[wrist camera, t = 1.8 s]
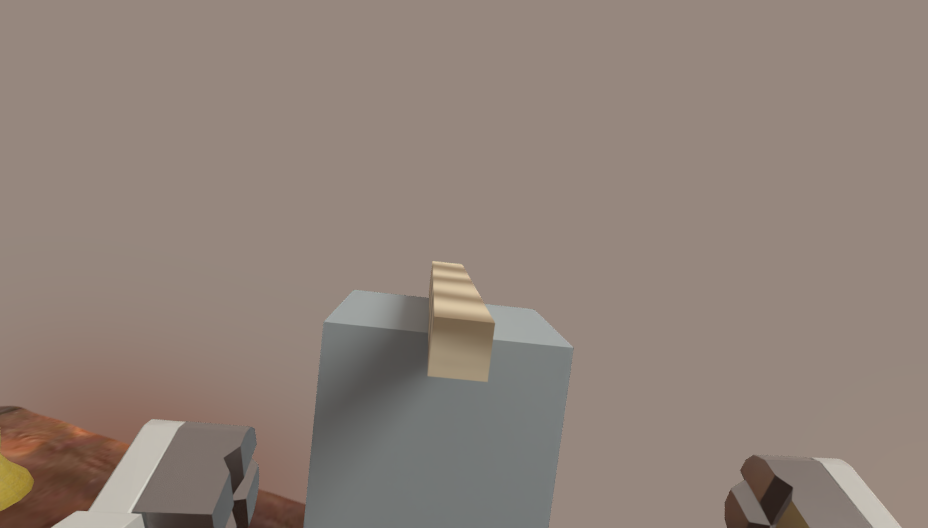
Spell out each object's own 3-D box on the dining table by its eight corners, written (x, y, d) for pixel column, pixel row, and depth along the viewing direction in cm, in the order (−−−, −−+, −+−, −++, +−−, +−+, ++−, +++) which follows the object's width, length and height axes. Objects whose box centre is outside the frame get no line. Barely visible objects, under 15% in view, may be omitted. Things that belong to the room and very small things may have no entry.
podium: (515, 764, 34) (573, 347, 31) (281, 752, 33) (323, 321, 30) (493, 619, 46) (534, 309, 43) (321, 607, 45) (354, 289, 42)
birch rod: (487, 381, 23) (495, 323, 23) (427, 376, 23) (434, 316, 22) (458, 293, 47) (462, 264, 46) (429, 290, 47) (432, 261, 46)
